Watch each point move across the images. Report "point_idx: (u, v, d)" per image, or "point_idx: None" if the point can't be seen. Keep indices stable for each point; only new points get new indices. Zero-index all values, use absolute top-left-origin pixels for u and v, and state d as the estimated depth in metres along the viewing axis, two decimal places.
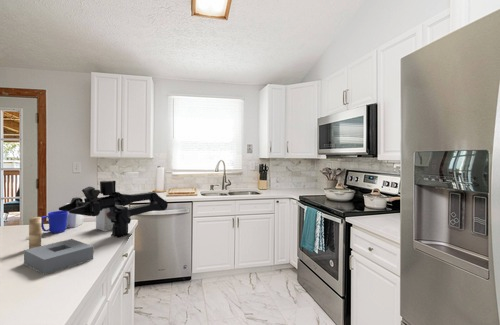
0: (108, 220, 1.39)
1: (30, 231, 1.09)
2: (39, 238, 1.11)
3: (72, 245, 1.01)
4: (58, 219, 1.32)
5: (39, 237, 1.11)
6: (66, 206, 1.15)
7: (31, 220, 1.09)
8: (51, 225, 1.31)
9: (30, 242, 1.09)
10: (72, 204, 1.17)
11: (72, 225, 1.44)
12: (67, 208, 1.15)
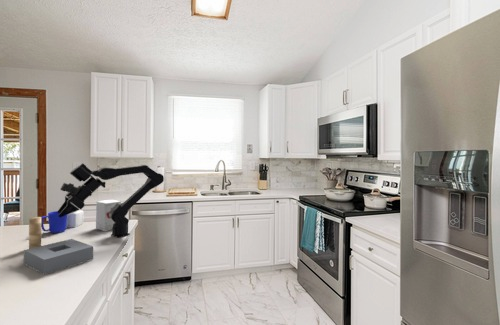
0: (108, 220, 1.39)
1: (30, 231, 1.09)
2: (39, 238, 1.11)
3: (72, 245, 1.01)
4: (58, 219, 1.32)
5: (39, 237, 1.11)
6: (62, 207, 1.20)
7: (31, 220, 1.09)
8: (51, 225, 1.31)
9: (30, 242, 1.09)
10: (66, 202, 1.22)
11: (72, 225, 1.44)
12: (65, 207, 1.21)
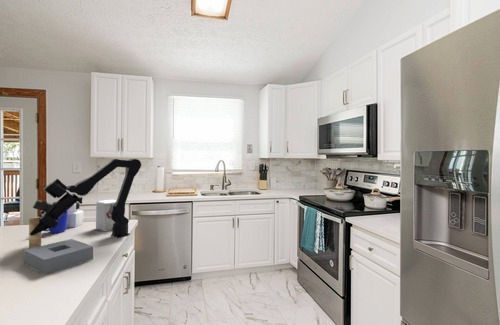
0: (108, 220, 1.39)
1: (30, 231, 1.09)
2: (39, 238, 1.11)
3: (72, 245, 1.01)
4: None
5: (39, 237, 1.11)
6: None
7: (31, 220, 1.09)
8: None
9: (30, 242, 1.09)
10: None
11: (72, 225, 1.44)
12: None
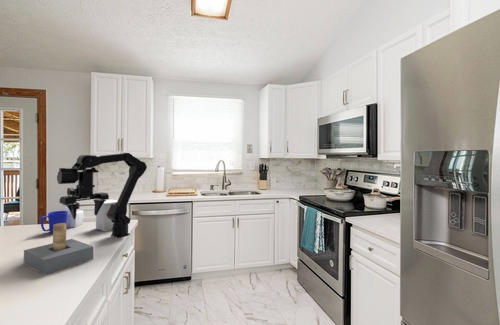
0: (108, 220, 1.39)
1: (58, 239, 0.97)
2: (65, 246, 1.00)
3: (72, 245, 1.01)
4: (58, 219, 1.32)
5: (65, 245, 1.00)
6: (95, 208, 1.23)
7: (60, 227, 0.97)
8: (51, 225, 1.31)
9: None
10: (95, 203, 1.23)
11: (72, 225, 1.44)
12: (96, 208, 1.22)
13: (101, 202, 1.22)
